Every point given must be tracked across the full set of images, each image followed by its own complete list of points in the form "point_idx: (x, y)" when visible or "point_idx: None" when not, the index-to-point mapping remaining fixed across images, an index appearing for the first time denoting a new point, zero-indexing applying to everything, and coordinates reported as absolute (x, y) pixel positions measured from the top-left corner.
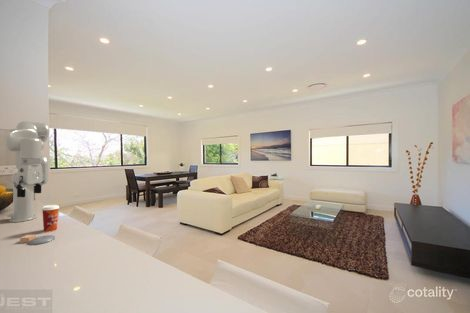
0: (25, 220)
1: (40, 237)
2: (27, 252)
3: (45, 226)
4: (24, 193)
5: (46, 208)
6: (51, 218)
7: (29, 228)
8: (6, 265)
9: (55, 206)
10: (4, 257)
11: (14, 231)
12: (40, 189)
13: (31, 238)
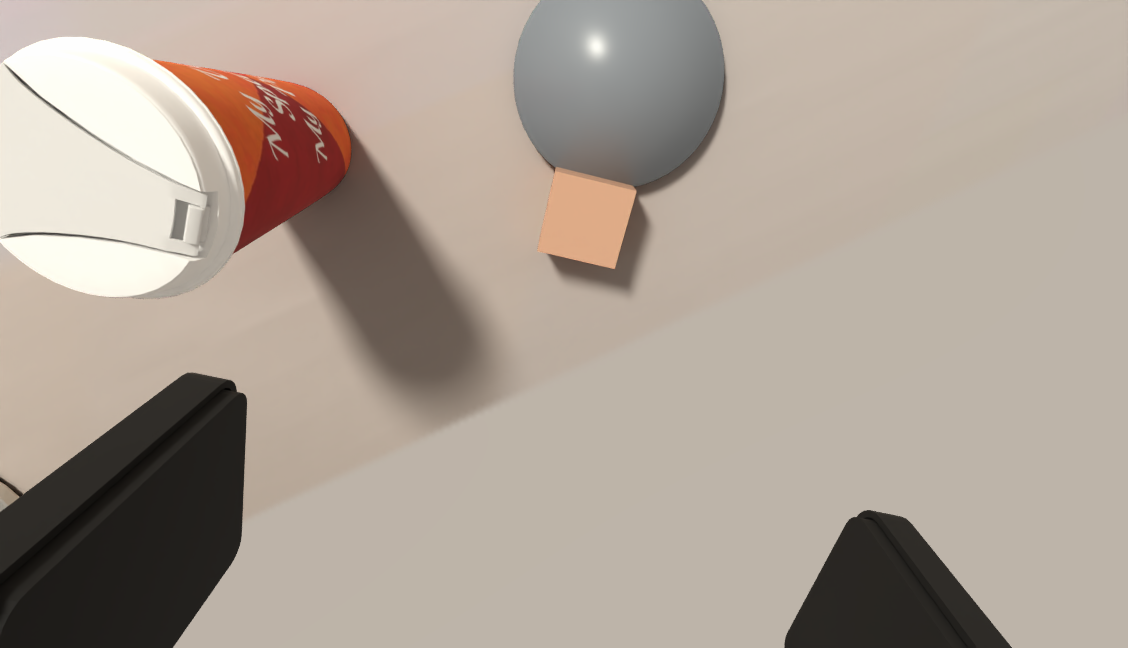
0: (6, 491)
1: (558, 123)
2: (891, 78)
3: (331, 175)
4: (978, 607)
5: (211, 207)
6: (279, 117)
7: (228, 359)
8: (1103, 114)
9: (98, 82)
10: (914, 211)
11: (300, 433)
12: (132, 465)
13: (607, 180)
